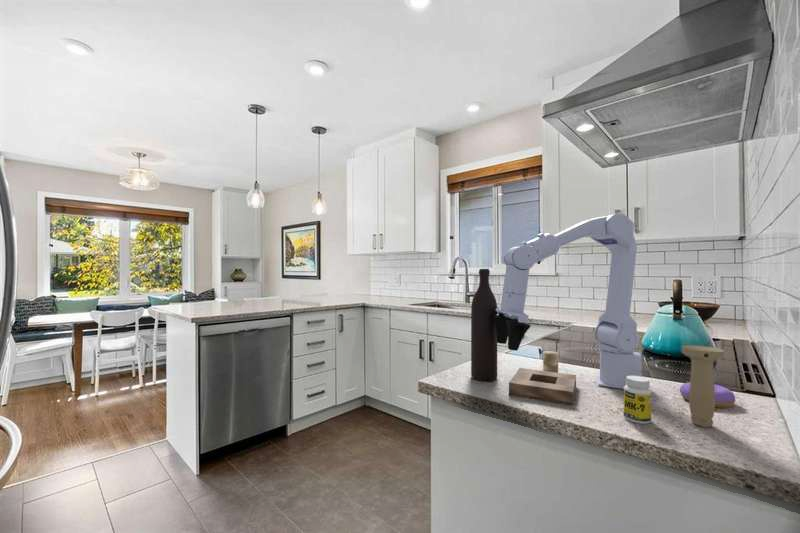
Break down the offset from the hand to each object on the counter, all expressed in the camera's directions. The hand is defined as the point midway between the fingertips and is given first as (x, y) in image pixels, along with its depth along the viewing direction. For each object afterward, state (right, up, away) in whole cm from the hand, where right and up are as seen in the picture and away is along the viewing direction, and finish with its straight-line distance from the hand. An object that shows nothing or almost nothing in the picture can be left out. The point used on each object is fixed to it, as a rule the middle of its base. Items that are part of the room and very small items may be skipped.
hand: (506, 346), depth 95 cm
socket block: (+9, -11, -2) cm, 14 cm away
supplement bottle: (+21, -11, -19) cm, 30 cm away
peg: (+16, -10, +12) cm, 23 cm away
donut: (+43, -11, -9) cm, 46 cm away
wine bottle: (-4, -11, +8) cm, 14 cm away
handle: (+32, -11, -21) cm, 40 cm away
